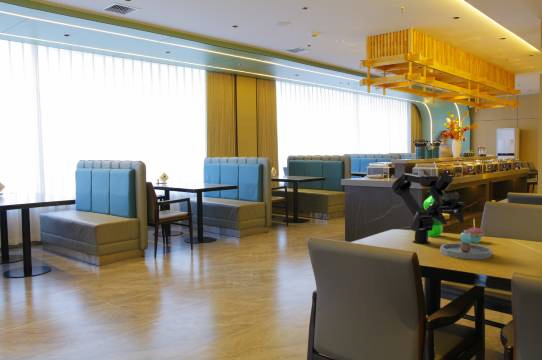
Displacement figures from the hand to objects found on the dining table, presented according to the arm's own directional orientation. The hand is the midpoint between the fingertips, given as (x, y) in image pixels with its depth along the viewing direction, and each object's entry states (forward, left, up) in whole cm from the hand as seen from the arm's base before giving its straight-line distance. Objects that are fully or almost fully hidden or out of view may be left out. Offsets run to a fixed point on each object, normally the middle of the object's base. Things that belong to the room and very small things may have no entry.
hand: (454, 223), depth 205 cm
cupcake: (-30, -9, -14) cm, 35 cm away
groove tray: (-3, +4, -13) cm, 14 cm away
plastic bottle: (-26, -31, -14) cm, 43 cm away
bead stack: (+2, +7, -12) cm, 14 cm away
